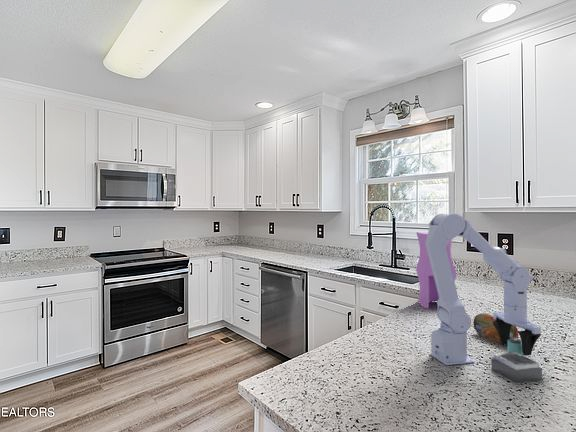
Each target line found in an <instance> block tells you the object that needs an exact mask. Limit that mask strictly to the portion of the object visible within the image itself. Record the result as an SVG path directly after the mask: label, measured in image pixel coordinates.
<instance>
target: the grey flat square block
mask: <svg viewBox="0 0 576 432" xmlns="http://www.w3.org/2000/svg"><path fill="white" fill-rule="evenodd" d="M491 370H493V371H495V372H496V373H498V374H500V375H501V376H503V377H505V378H507V379H509V380H510V381H512V382H514V383H515V384H519V383H528V382H536V381H543V368H542V367H540V363H538V362H537V361H535V360H533V359H532V358H531V359H530V358H528V356H527V357H526V356H525V355H524V356H522V355H520V354H518V353H516V352H514V353H507V352H506V353H505V352H504V353H496V354H495V353H494V354H493V357H491Z"/></svg>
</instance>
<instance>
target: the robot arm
mask: <svg viewBox="0 0 576 432" xmlns="http://www.w3.org/2000/svg"><path fill="white" fill-rule="evenodd" d="M428 226H429V227H428V228H429V229H428V232H427V233H428V235H427V238H426V248H427V252H428V256H429V260H430V264H431V268H432V272H433V276H434V279H435V283H436V287H437V291H438V295H439V300H438V301H437V302H436V304H437V310H436V316H437V318H438V320H439V321H440V325H439V326H440V327H439V328H438V329H436V330H433V331H432V332H431V337H430V339H431V341H430V342H431V343H430V345H431V346H430V352H429V355H431V356H432V358H435V359H436V360H437V361H439V362H441V364H444V366H452V365H454V366H455V365H461V364H463V365H464V364H471V363H475V360H473V359H472V358H470V357H469V356H468V343H467V342H468V341H467V340H468V338H467V337H468V335H467V334H468V332H467V331H468V330H470V328H471V326H472V318H471V317H470V315H469V314H468V313H467V311H466V309H465V305H464V304H463V303H462V301H461V299H460V298H459V295H458V291H457V287H456V283H455V282H454V279H453V275H452V271H451V267H450V263H449V259H448V255H447V251H446V246H447V245H448V243H449V242H450V241H451V240H452V241H453V239H455V238H456V237H462V238H463V239H465V240H466V241H467V242H468V243H470V244H471V245H472V246H473V247H474V248H475V249H477V250H478V251H479V252H481V253H482V255H483V257H482V258H483V259H482V260H484V262H486V264H488V265H489V267H491V268H492V269H493V270H494V271H495V272H497V274H498V277H499V279H501V280H502V281H503V313H502V312H499V311H497V312H496V311H495V312H493V314H492V315H493V318H494V319H496V321H493V325H494V326H495V328H496V330H497V332H498V334H499V338H500V341H501V344H500V345H501V346H507V340H509V339H510V330H511V326H512V325H514V326H516V327H517V328H520V329H523V330H518V336H519V337H520V338H519V339H520V340H521V342H522V352H523V355H524V357H526V356H527V357H528V356H532V354H533V353H532V352H533V349H534V347H535V344H536V343H537V341H538V340H539V338H540V337H541V336H542V335H541V334H542V331H541V330H542V328H541V326H539V325H537V324H536V323H535V324H534V323H533V322H531V321H530V319H529V318H528V299H527V298H528V294H527V293H528V292H527V291H528V286H529V284H530V283H531V282H532V278H533V276H532V275H531V274H530V271H529V270H528V269H527V267H524V266H520V265H519V262H518V261H517V260H516V259H513V258H512V257H511V256H510V255H509V254H508V253H507V250H506V249H505V248H503V247H502V248H501V247H499V246H492V245H491V243H489V241H487V240H486V238H485V237H483V235H481V233H479V232H478V231H477V229H475V228H474V227H473V226H472V224H471V223H470V222H469V220H466V219H465V218H464V217H463V216H462V215H460V214H458V213H438V214H436V215H435V216H434V217H433V218H432V219H431V220H430V222H429V223H428Z"/></svg>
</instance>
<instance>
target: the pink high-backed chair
mask: <svg viewBox="0 0 576 432" xmlns="http://www.w3.org/2000/svg"><path fill="white" fill-rule="evenodd" d="M427 235H428V232H427V233H425V232H420V231H419V232H416V236H417V241H418V244H419V257H418V261H417V263H416V266H415V267H416V268H415V269H416V270H415V271H416V274H417V279H418V284H419V294H418V301H417V302H420V303H421V304H422V305H423V306H424V307H425V308H428V309H429V303H430V302H429V301H438V300H439V295H438V291H437V287H436V283H435V279H434V276H433V272H432V268H431V264H430V260H429V256H428V252H427V248H426V238H427ZM452 242H453V239H452V240H451V241H450V242H449V243H448V245H447V246H446V251H447V255H448V259H449V263H450V267H451V271H452V275H453V279H454V283H455V281H456V277H457V270H456V268H455V266H454V265H455V264H454V263H453V259H452V253H451V250H452V249H451V248H452ZM423 306H422V307H423ZM424 307H423V308H424ZM425 308H424V309H425Z"/></svg>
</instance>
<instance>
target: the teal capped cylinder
mask: <svg viewBox="0 0 576 432" xmlns="http://www.w3.org/2000/svg"><path fill="white" fill-rule="evenodd" d="M506 346H507V350H506V353H514V352H516V353H518V354H520V355H522V356H524V357H525V355H523V352H522V342H521V338H519V337H518V338H510V339H509V340H507V345H506Z"/></svg>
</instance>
